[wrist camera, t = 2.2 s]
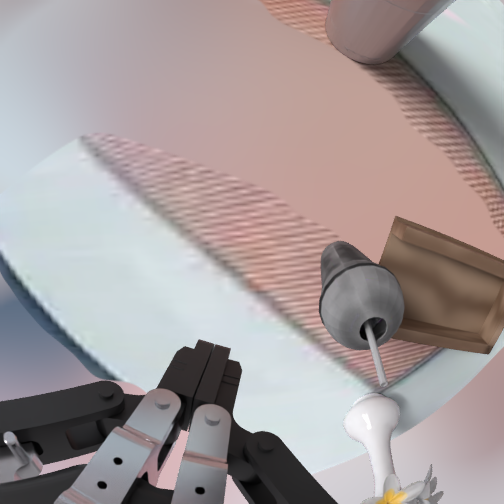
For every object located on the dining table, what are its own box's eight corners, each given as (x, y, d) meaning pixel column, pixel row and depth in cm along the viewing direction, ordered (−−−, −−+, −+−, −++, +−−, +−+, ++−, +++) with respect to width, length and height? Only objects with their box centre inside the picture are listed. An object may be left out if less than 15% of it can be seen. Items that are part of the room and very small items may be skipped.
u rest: (395, 215, 31) (408, 222, 27) (513, 265, 30) (528, 274, 26) (356, 318, 35) (362, 335, 32) (476, 343, 34) (487, 356, 31)
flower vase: (367, 440, 43) (384, 551, 19) (307, 401, 40) (308, 547, 17) (425, 404, 39) (466, 516, 15) (376, 354, 37) (424, 509, 13)
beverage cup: (374, 234, 32) (462, 319, 13) (361, 290, 34) (416, 409, 15) (314, 225, 32) (350, 311, 13) (304, 283, 35) (317, 409, 16)
